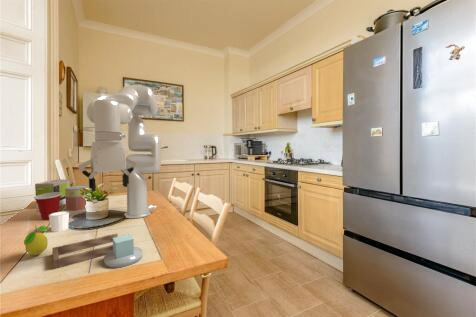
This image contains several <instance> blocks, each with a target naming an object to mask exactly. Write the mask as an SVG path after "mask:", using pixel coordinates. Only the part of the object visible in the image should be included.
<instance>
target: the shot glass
mask: <svg viewBox="0 0 476 317" xmlns="http://www.w3.org/2000/svg"><path fill="white" fill-rule="evenodd" d="M69 215H70V211H58V212H56V213H52V214H50V215H49V219H50V220H49V224H50V230H51V232H52V233H58V232H59V233H60V232H64V231H67V230H68V229H69V221H70V220H69V217H70V216H69Z"/></svg>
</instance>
